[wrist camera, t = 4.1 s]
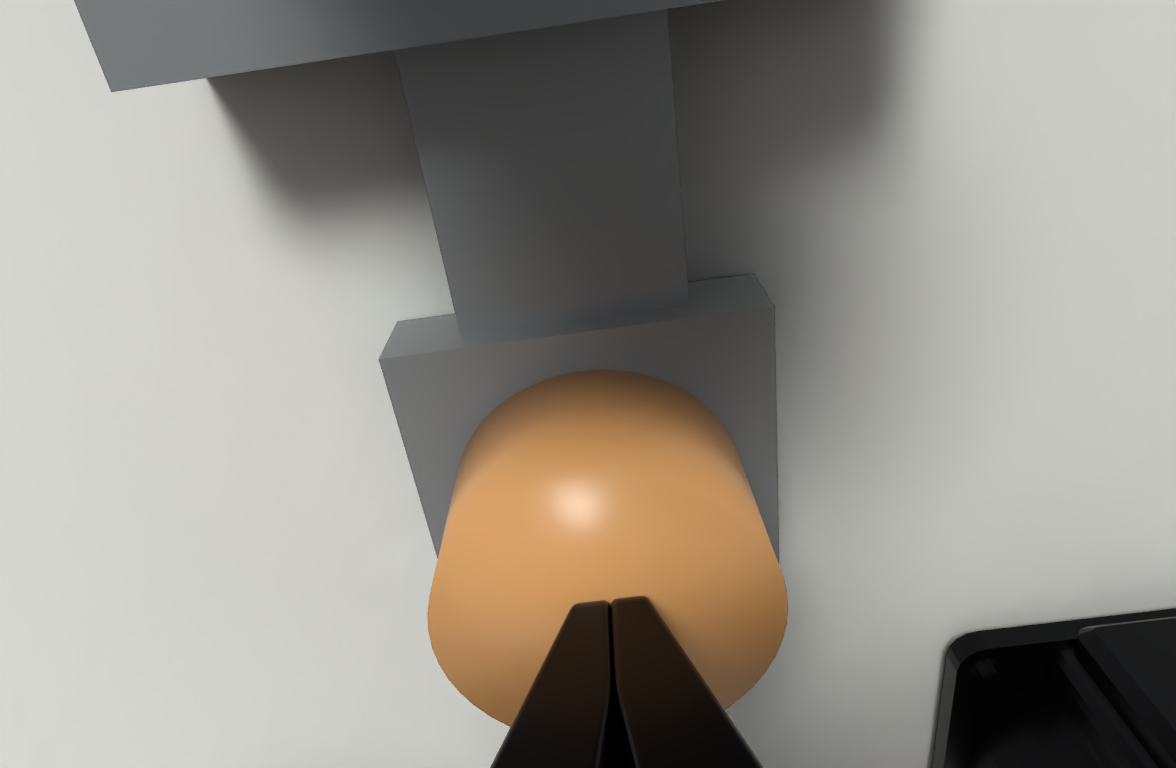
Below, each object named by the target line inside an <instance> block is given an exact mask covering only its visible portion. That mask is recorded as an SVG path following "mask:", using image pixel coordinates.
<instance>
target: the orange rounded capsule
mask: <svg viewBox="0 0 1176 768" xmlns="http://www.w3.org/2000/svg"><path fill="white" fill-rule="evenodd" d="M634 596H645V597H647V598H648V599H649V600H650V601H651V602H652V604H653V605H654V607H655V608H656V610H657V611H658V613H659V614H660V616H661V617H662V619H663V620H664V622H665V623H666V624H667V626H668V627H669V629H670V630H671V632H672V633H673V635H674V636H675V638H676V639H677V641H678V642H679V644H680V645H681V647H682V648H683V650H684V651H685V652H686V654H687V655H688V657H689V658H690V660H691V661H692V663H693V664H694V666H695V667H696V669H697V670H698V672H699V673H700V675H701V676H702V678H703V679H704V681H705V682H706V683H707V685H708V686H709V688H710V689H711V691H712V692H713V694H714V695H715V697H716V698H717V700H718V701H719V703H720V704H721V706H722V707H723V709H724V710H725V709H727V708H728V707H729V706H731V705H732V704H733V703H735V702H736V701H737V700H739V699H740V698H741V697H742V696H743V695H744V694H746V693H747V692H748V691H749V690H750V689H751V688H752V687H753V686H754V685H755V684H756V683H757V681H758V680H759V679H760V678H761V677H762V675H763V674H764V673H765V672H766V670H767V669H768V667H769V666H770V664H771V662H772V661H773V659H774V658H775V656H776V654H777V651H778V649H779V647H780V644H781V642H782V640H783V636H784V632H785V628H786V624H787V613H788V601H787V591H786V586H785V583H784V579H783V576H782V572H781V569H780V567H779V564H778V561H777V558H776V556H775V553H774V550H773V547H772V545H771V542H770V539H769V536H768V534H767V531H766V528H765V526H764V523H763V520H762V517H761V515H760V512H759V509H758V506H757V504H756V501H755V498H754V496H753V493H752V490H751V487H750V485H749V482H748V479H747V476H746V474H745V471H744V468H743V466H742V463H741V460H740V457H739V455H738V452H737V449H736V447H735V445H734V443H733V441H732V439H731V437H730V435H729V433H728V432H727V430H726V429H725V427H724V426H723V424H722V423H721V421H720V420H719V419H718V418H717V417H716V416H715V415H714V414H713V413H712V412H711V411H710V410H709V408H707V407H706V406H705V405H704V404H702V403H701V402H700V401H699V400H697V399H696V398H695V397H694V396H692V395H690V394H689V393H687V392H685V391H683V390H682V389H680V388H678V387H676V386H674V385H672V384H669V383H667V382H665V381H663V380H660V379H657V378H653V377H650V376H646V375H643V374H638V373H632V372H626V371H617V370H590V371H579V372H574V373H568V374H563V375H559V376H556V377H552V378H549V379H546V380H543V381H540V382H538V383H536V384H534V385H531V386H529V387H527V388H525V389H523V390H521V391H519V392H518V393H516V394H515V395H513V396H511V397H510V398H508V399H507V400H505V401H504V402H503V403H502V404H500V405H499V406H498V407H497V408H495V409H494V410H493V411H492V412H491V413H490V414H489V415H488V416H487V417H486V418H485V419H484V421H483V422H482V423H481V424H480V425H479V426H478V428H477V429H476V431H475V432H474V434H473V435H472V437H471V438H470V440H469V442H468V444H467V446H466V448H465V450H464V452H463V454H462V458H461V461H460V464H459V467H458V471H457V476H456V480H455V485H454V489H453V494H452V498H451V503H450V507H449V512H448V516H447V521H446V525H445V530H444V534H443V539H442V543H441V548H440V552H439V557H438V561H437V566H436V570H435V575H434V579H433V584H432V588H431V593H430V598H429V606H428V631H429V636H430V640H431V644H432V648H433V651H434V653H435V656H436V658H437V660H438V663H439V665H440V666H441V668H442V669H443V671H444V673H445V674H446V676H447V678H448V679H449V680H450V681H451V683H452V684H453V685H454V686H455V687H456V688H457V690H458V691H459V692H460V693H461V694H462V695H463V696H464V697H466V698H467V699H468V700H469V701H470V702H471V703H472V704H473V705H475V706H476V707H478V708H479V709H480V710H482V711H483V712H485V713H486V714H488V715H489V716H491V717H493V718H495V719H496V720H498V721H500V722H502V723H504V724H506V725H508V726H510V727H511V725H512V723H513V721H514V720H515V718H516V716H517V714H518V712H519V710H520V708H521V706H522V704H523V702H524V700H525V698H526V696H527V694H528V692H529V690H530V688H531V686H532V684H533V682H534V680H535V678H536V676H537V674H538V672H539V670H540V668H541V666H542V664H543V662H544V660H545V658H546V656H547V654H548V652H549V650H550V648H551V646H552V644H553V642H554V640H555V638H556V636H557V634H558V632H559V630H560V628H561V626H562V624H563V622H564V620H565V618H566V616H567V614H568V612H569V610H570V609H571V607H572V606H573V605H574V604H576V603H583V602H591V601H600V600H605V601H607V602H608V603H609V604H610V607H611V602H612V601H613V600H614V599H617V598H625V597H634Z"/></svg>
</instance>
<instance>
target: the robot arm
mask: <svg viewBox="0 0 1176 768" xmlns="http://www.w3.org/2000/svg"><path fill="white" fill-rule="evenodd" d="M490 768H763V766H762V765H761V763H760V762H759V760H758V759H757V757H756V756H755V754H754V753H753V751H752V750H751V748H750V747H749V745H748V744H747V742H746V741H745V740H744V738H743V737H742V735H741V734H740V732H739V731H738V729H737V728H736V726H735V725H734V723H733V722H732V720H731V719H730V717H729V716H728V714H727V713H726V712H725V710H724V709H723V707H722V706H721V704H720V703H719V701H718V700H717V698H716V697H715V695H714V694H713V692H712V691H711V689H710V688H709V686H708V685H707V683H706V682H705V681H704V679H703V678H702V676H701V675H700V673H699V672H698V670H697V669H696V667H695V666H694V664H693V663H692V661H691V660H690V658H689V657H688V655H687V654H686V652H685V651H684V650H683V648H682V647H681V645H680V644H679V642H678V641H677V639H676V638H675V636H674V635H673V633H672V632H671V630H670V629H669V627H668V626H667V624H666V623H665V622H664V620H663V619H662V617H661V616H660V614H659V613H658V611H657V610H656V608H655V607H654V605H653V604H652V602H651V601H650V600H649V599H648V598H647V597H645V596H634V597H625V598H617V599H614V600H613V601H612V602H611V607H610V604H609V603H608V602H607V601H605V600H600V601H591V602H583V603H576V604H574V605H573V606H572V607H571V609H570V610H569V612H568V614H567V616H566V618H565V620H564V622H563V624H562V626H561V628H560V630H559V632H558V634H557V636H556V638H555V640H554V642H553V644H552V646H551V648H550V650H549V652H548V654H547V656H546V658H545V660H544V662H543V664H542V666H541V668H540V670H539V672H538V674H537V676H536V678H535V680H534V682H533V684H532V686H531V688H530V690H529V692H528V694H527V696H526V698H525V700H524V702H523V704H522V706H521V708H520V710H519V712H518V714H517V716H516V718H515V720H514V721H513V723H512V725H511V727H510V729H509V731H508V733H507V735H506V737H505V739H504V741H503V743H502V745H501V747H500V749H499V751H498V753H497V755H496V757H495V759H494V761H493V763H492V765H491V767H490ZM932 768H1176V609H1168V610H1159V611H1150V612H1141V613H1133V614H1124V615H1115V616H1107V617H1098V618H1089V619H1080V620H1072V621H1063V622H1054V623H1046V624H1037V625H1028V626H1019V627H1011V628H1002V629H993V630H985V631H977V632H973V633H969V634H966V635H964V636H962V637H960V638H959V639H957V640H956V641H955V642H954V643H953V644H952V645H951V646H950V648H949V650H948V652H947V657H946V664H945V672H944V680H943V688H942V695H941V703H940V711H939V719H938V726H937V734H936V742H935V749H934V757H933V765H932Z"/></svg>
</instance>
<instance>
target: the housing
mask: <svg viewBox="0 0 1176 768" xmlns="http://www.w3.org/2000/svg"><path fill="white" fill-rule="evenodd" d="M717 1H724V0H74V2H75V4H76V6H77V9H78V11H79V14H80V16H81V19H82V21H83V24H84V26H85V29H86V31H87V34H88V36H89V38H90V41H91V43H92V46H93V48H94V51H95V53H96V56H97V58H98V61H99V63H100V65H101V68H102V70H103V73H104V75H105V78H106V80H107V83H108V85H109V88H110V90H111V92H116V91H122V90H129V89H136V88H142V87H149V86H156V85H162V84H169V83H176V82H182V81H189V80H196V79H202V78H209V77H216V76H223V75H229V74H236V73H243V72H249V71H256V70H263V69H269V68H276V67H283V66H289V65H296V64H303V63H309V62H316V61H323V60H330V59H336V58H343V57H350V56H356V55H363V54H370V53H376V52H383V51H390V50H394V54H395V59H396V63H397V67H398V71H399V76H400V80H401V84H402V88H403V93H404V97H405V101H406V106H407V110H408V114H409V118H410V123H411V127H412V131H413V135H414V140H415V144H416V148H417V152H418V157H419V161H420V165H421V169H422V174H423V178H424V182H425V187H426V191H427V195H428V199H429V204H430V208H431V212H432V216H433V221H434V225H435V229H436V233H437V238H438V242H439V246H440V250H441V255H442V259H443V263H444V268H445V272H446V276H447V280H448V285H449V289H450V293H451V297H452V302H453V306H454V310H455V314H449V315H442V316H434V317H427V318H420V319H412V320H405V321H397V323H396V325H395V327H394V329H393V331H392V333H391V335H390V337H389V339H388V341H387V343H386V345H385V347H384V349H383V352H382V354H381V356H380V358H379V362H380V365H381V369H382V372H383V375H384V379H385V382H386V386H387V389H388V392H389V396H390V399H391V402H392V406H393V409H394V413H395V416H396V419H397V423H398V426H399V430H400V433H401V436H402V440H403V443H404V446H405V450H406V453H407V457H408V460H409V463H410V467H411V470H412V473H413V477H414V480H415V484H416V487H417V490H418V494H419V497H420V501H421V504H422V507H423V511H424V514H425V517H426V521H427V524H428V528H429V531H430V534H431V538H432V541H433V544H434V548H435V551H436V555H437V558H438V557H439V552H440V548H441V543H442V539H443V534H444V530H445V525H446V521H447V516H448V512H449V507H450V503H451V498H452V494H453V489H454V485H455V480H456V476H457V471H458V467H459V464H460V461H461V458H462V454H463V452H464V450H465V448H466V446H467V444H468V442H469V440H470V438H471V437H472V435H473V434H474V432H475V431H476V429H477V428H478V426H479V425H480V424H481V423H482V422H483V421H484V419H485V418H486V417H487V416H488V415H489V414H490V413H491V412H492V411H493V410H494V409H495V408H497V407H498V406H499V405H500V404H502V403H503V402H504V401H505V400H507V399H508V398H510V397H511V396H513V395H515V394H516V393H518V392H519V391H521V390H523V389H525V388H527V387H529V386H531V385H534V384H536V383H538V382H540V381H543V380H546V379H549V378H552V377H556V376H559V375H563V374H568V373H574V372H579V371H590V370H617V371H626V372H632V373H638V374H643V375H646V376H650V377H653V378H657V379H660V380H663V381H665V382H667V383H669V384H672V385H674V386H676V387H678V388H680V389H682V390H683V391H685V392H687V393H689V394H690V395H692V396H694V397H695V398H696V399H697V400H699V401H700V402H701V403H702V404H704V405H705V406H706V407H707V408H709V410H710V411H711V412H712V413H713V414H714V415H715V416H716V417H717V418H718V419H719V420H720V421H721V423H722V424H723V426H724V427H725V429H726V430H727V432H728V433H729V435H730V437H731V439H732V441H733V443H734V445H735V447H736V449H737V452H738V455H739V457H740V460H741V463H742V466H743V468H744V471H745V474H746V476H747V479H748V482H749V485H750V487H751V490H752V493H753V496H754V498H755V501H756V504H757V506H758V509H759V512H760V515H761V517H762V520H763V523H764V526H765V528H766V531H767V534H768V536H769V539H770V542H771V545H772V547H773V550H774V553H775V556H776V558H777V561H778V564H779V524H778V467H777V410H776V354H775V306H774V305H773V303H772V302H771V300H770V298H769V297H768V295H767V294H766V292H765V291H764V289H763V288H762V286H761V285H760V283H759V281H758V280H757V278H756V277H755V275H754V274H746V275H738V276H731V277H723V278H716V279H709V280H701V281H694V282H688V279H687V265H686V252H685V239H684V226H683V212H682V199H681V186H680V172H679V159H678V146H677V132H676V119H675V106H674V92H673V79H672V66H671V52H670V39H669V26H668V13H667V9H671V8H677V7H684V6H691V5H697V4H704V3H711V2H717Z"/></svg>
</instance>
